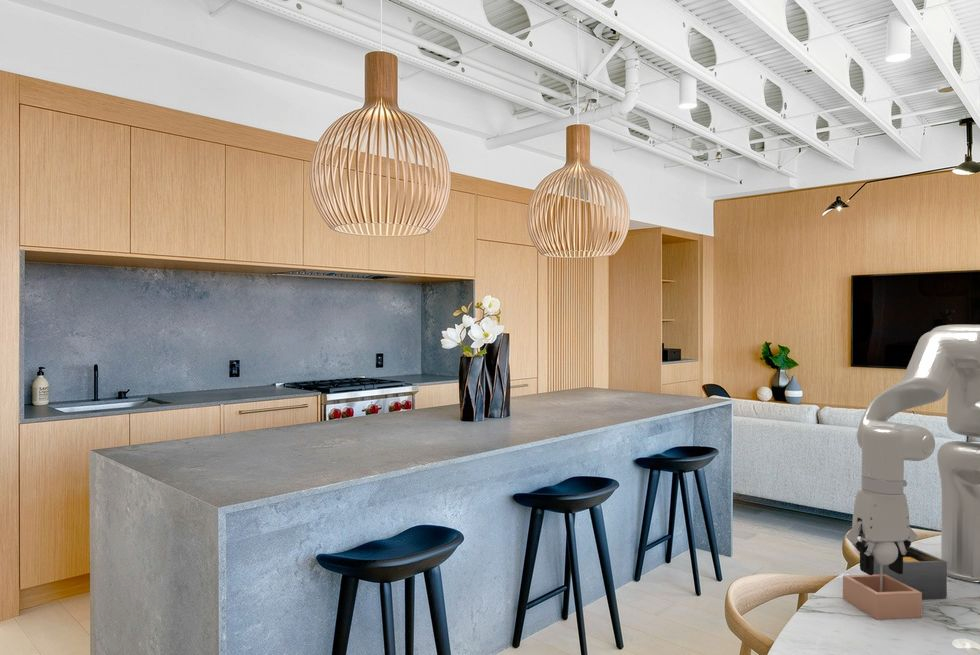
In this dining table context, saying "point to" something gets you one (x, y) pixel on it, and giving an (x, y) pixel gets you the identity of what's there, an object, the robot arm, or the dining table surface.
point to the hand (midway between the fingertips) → (881, 571)
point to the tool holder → (882, 596)
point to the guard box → (921, 574)
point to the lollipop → (884, 555)
